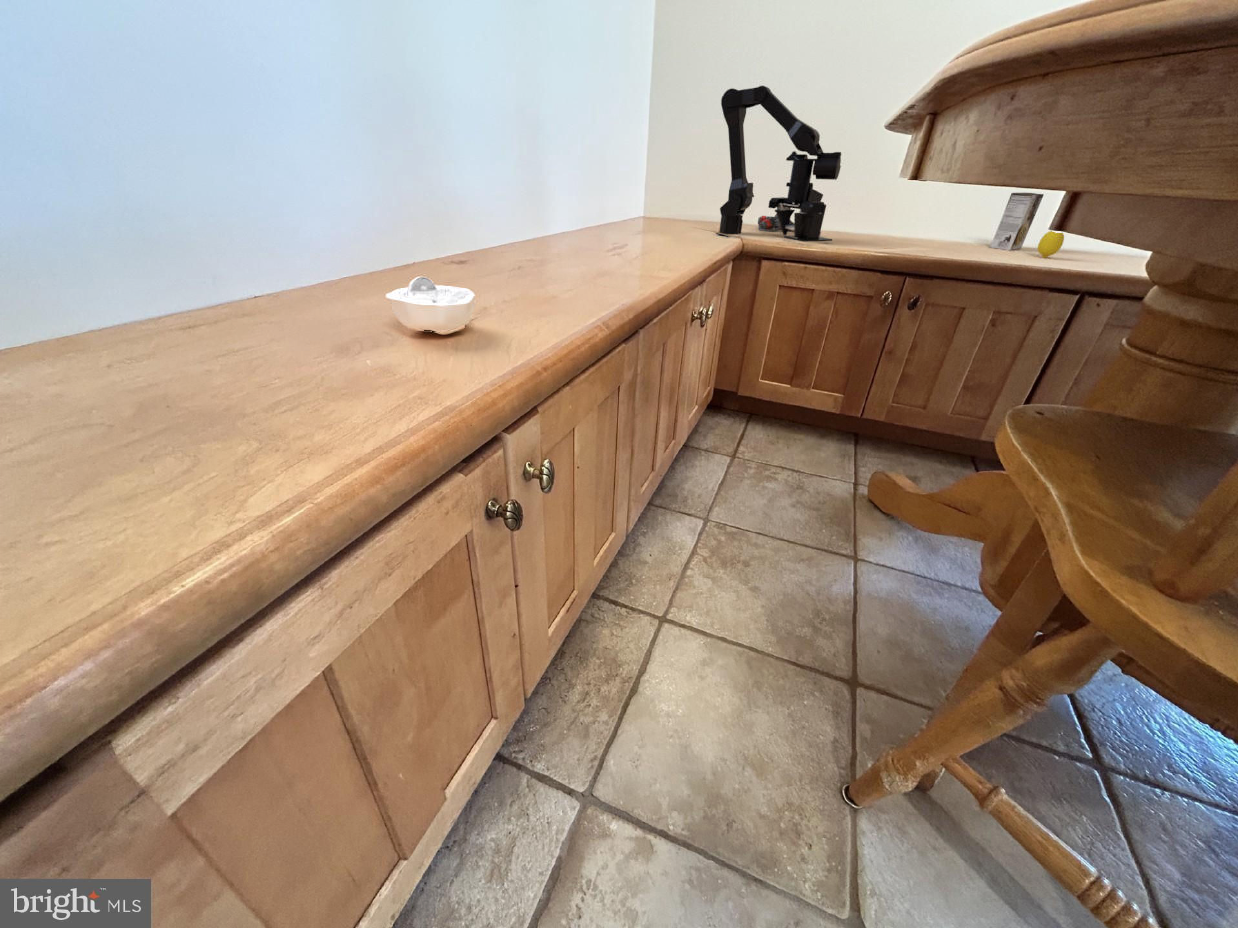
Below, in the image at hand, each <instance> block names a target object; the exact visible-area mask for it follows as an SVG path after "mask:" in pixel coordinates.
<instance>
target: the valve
mask: <svg viewBox="0 0 1238 928" xmlns="http://www.w3.org/2000/svg"><path fill="white" fill-rule="evenodd" d="M793 223H794V221H792V220H791V219H790V223H789V225H792V224H793ZM757 225H758V226H757V230H758V231H760V232H767V233H776V232H779V231H781V232H782V229H781V225H780V222H779V219H778V216H777V213H776V214H775V215H774V216H767V215H761V216H759V217H758V218H757ZM792 231H793V230H789V229H788V231H787V232H792ZM821 233H822V232H821V231H820V235H821Z"/></svg>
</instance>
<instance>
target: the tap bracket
mask: <svg viewBox="0 0 1238 928" xmlns="http://www.w3.org/2000/svg"><path fill="white" fill-rule="evenodd" d="M826 209H827V204H825V209H824V213H815V215H812V216H811V217H810V218H808V220H807V221H806V223H805V225H804V227H803V229H802V231H801V232H800V234H799V236H798V237H795V235H783V238H784V239H785V238H786V239H789V240H793V241H798V242H803V243H804V242H832V241H833V239H832V238H828V237H823V236H821V234H820V232H821V230H822V226H823V221H824V218H825V214H826Z"/></svg>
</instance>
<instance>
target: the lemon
mask: <svg viewBox="0 0 1238 928" xmlns="http://www.w3.org/2000/svg"><path fill="white" fill-rule="evenodd" d="M1064 241H1065V235H1064V233H1063V232H1062V233H1055V232H1052V230H1050V231H1048V232H1046V233H1045V234H1043V236H1042V237H1041V239H1039V242H1038V244H1037V252H1038V253H1039V254H1040V255H1041V256H1042V258H1043V259H1046V258H1048V257H1049V256H1050V257H1051V256H1053V255H1055V254H1056V253H1058V252H1059V251H1060V249H1061V248H1062V247H1063V245H1064Z"/></svg>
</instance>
